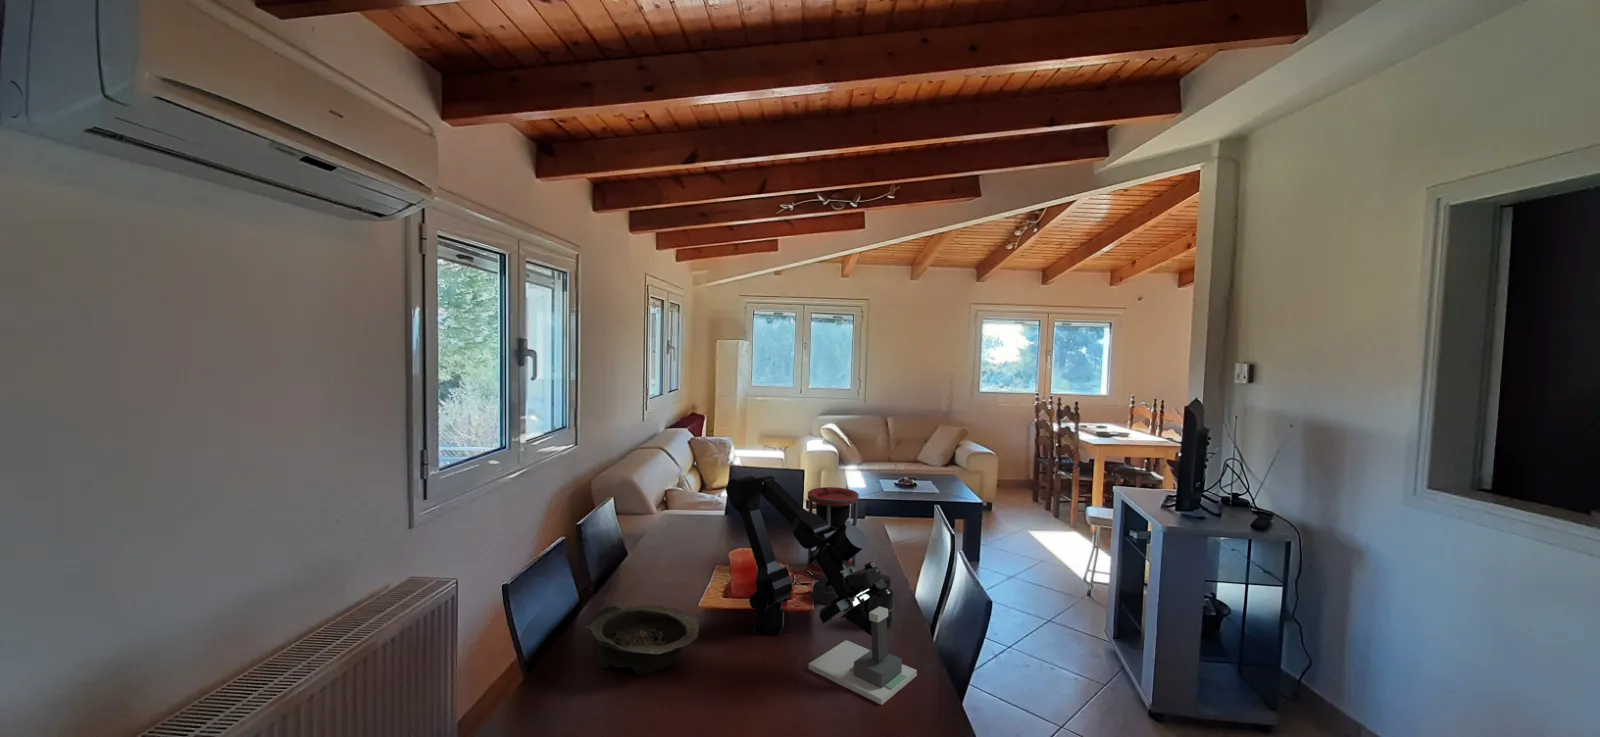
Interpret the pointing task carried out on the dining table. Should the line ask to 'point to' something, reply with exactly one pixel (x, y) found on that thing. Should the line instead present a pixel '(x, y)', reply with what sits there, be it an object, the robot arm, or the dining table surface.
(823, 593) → the smart speaker
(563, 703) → the dining table surface
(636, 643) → the stone bowl
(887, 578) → the supplement bottle
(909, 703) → the dining table surface
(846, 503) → the hourglass
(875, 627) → the breaker lever
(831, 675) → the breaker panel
